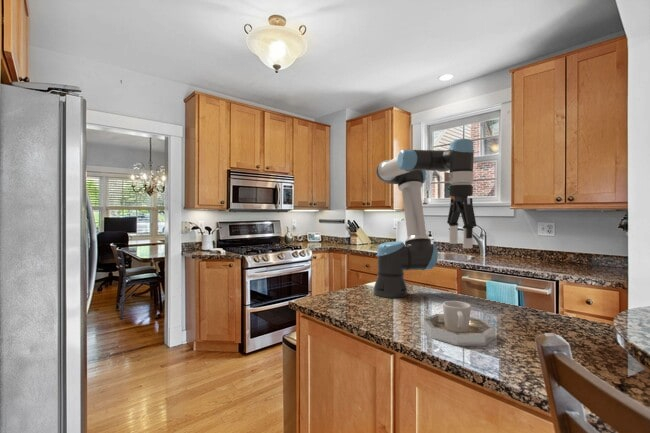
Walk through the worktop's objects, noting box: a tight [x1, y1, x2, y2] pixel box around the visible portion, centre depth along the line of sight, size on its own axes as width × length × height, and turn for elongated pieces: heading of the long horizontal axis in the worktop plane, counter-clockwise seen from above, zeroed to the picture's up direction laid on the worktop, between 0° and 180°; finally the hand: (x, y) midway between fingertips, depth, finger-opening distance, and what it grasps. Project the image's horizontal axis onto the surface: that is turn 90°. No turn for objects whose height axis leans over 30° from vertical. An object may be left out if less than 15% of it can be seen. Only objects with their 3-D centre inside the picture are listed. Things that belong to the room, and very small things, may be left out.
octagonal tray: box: [423, 313, 496, 347], centre depth 97 cm, size 18×18×3 cm
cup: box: [442, 300, 472, 333], centre depth 98 cm, size 11×8×8 cm
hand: (460, 245), depth 112 cm, fingers open, 13 cm apart
